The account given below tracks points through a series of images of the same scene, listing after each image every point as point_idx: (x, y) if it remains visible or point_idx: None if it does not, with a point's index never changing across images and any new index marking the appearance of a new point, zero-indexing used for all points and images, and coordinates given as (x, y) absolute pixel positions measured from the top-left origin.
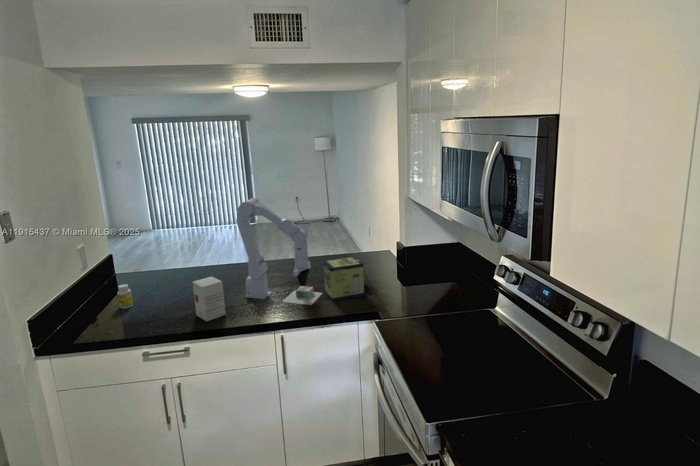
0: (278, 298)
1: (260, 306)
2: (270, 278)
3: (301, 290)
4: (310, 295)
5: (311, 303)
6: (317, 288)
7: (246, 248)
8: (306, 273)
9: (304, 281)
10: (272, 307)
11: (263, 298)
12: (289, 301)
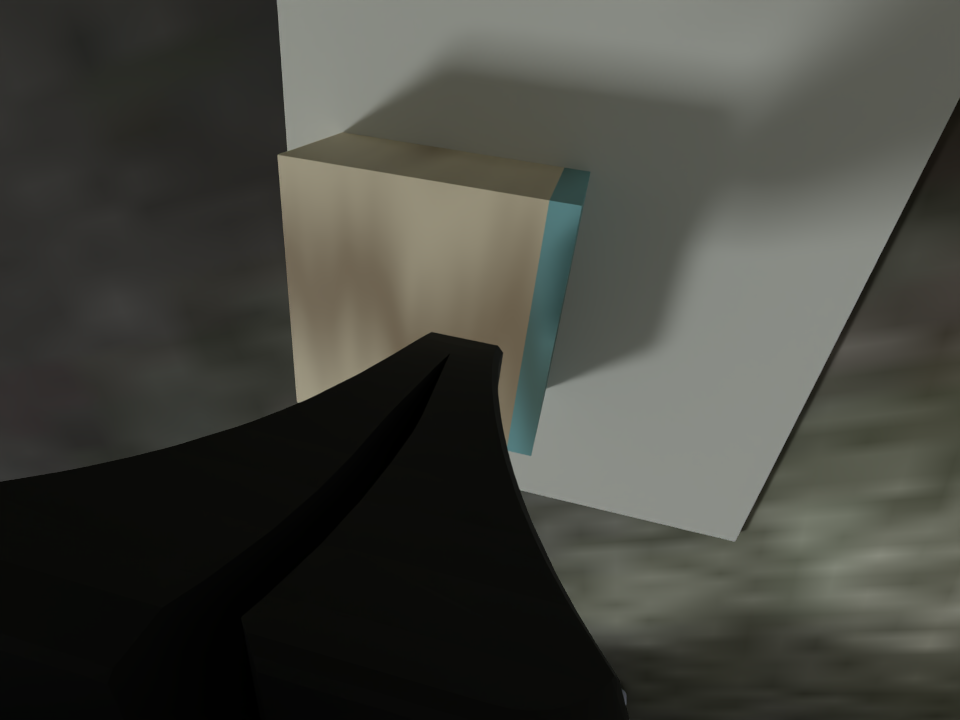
0: (587, 572)
1: (838, 708)
2: None
3: (510, 362)
4: (487, 158)
5: (911, 22)
6: (116, 119)
7: None
8: (472, 667)
9: (501, 422)
10: (907, 612)
11: (626, 700)
12: (731, 452)
